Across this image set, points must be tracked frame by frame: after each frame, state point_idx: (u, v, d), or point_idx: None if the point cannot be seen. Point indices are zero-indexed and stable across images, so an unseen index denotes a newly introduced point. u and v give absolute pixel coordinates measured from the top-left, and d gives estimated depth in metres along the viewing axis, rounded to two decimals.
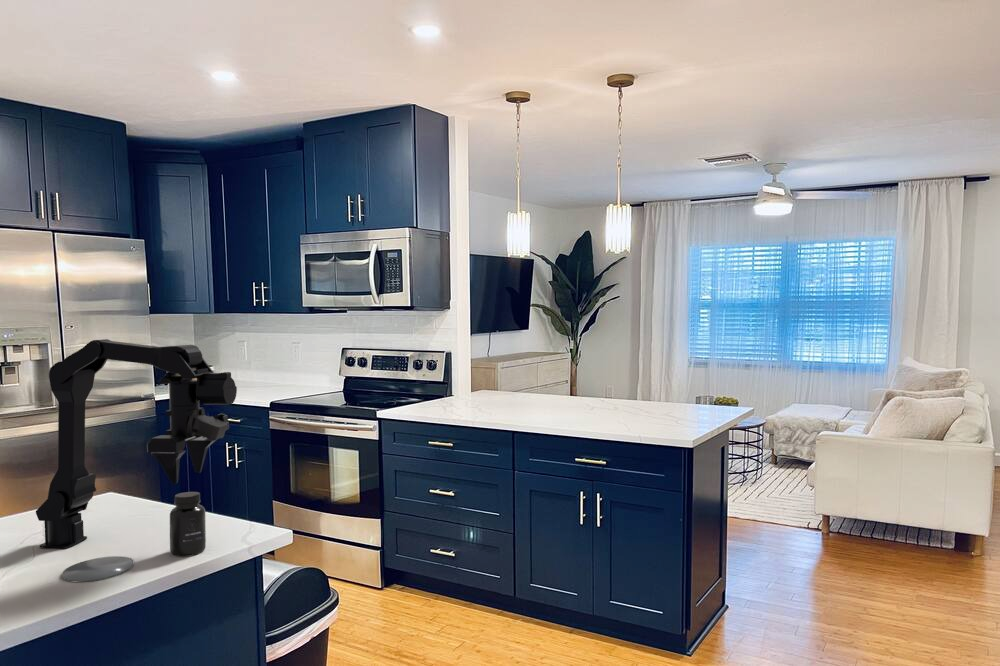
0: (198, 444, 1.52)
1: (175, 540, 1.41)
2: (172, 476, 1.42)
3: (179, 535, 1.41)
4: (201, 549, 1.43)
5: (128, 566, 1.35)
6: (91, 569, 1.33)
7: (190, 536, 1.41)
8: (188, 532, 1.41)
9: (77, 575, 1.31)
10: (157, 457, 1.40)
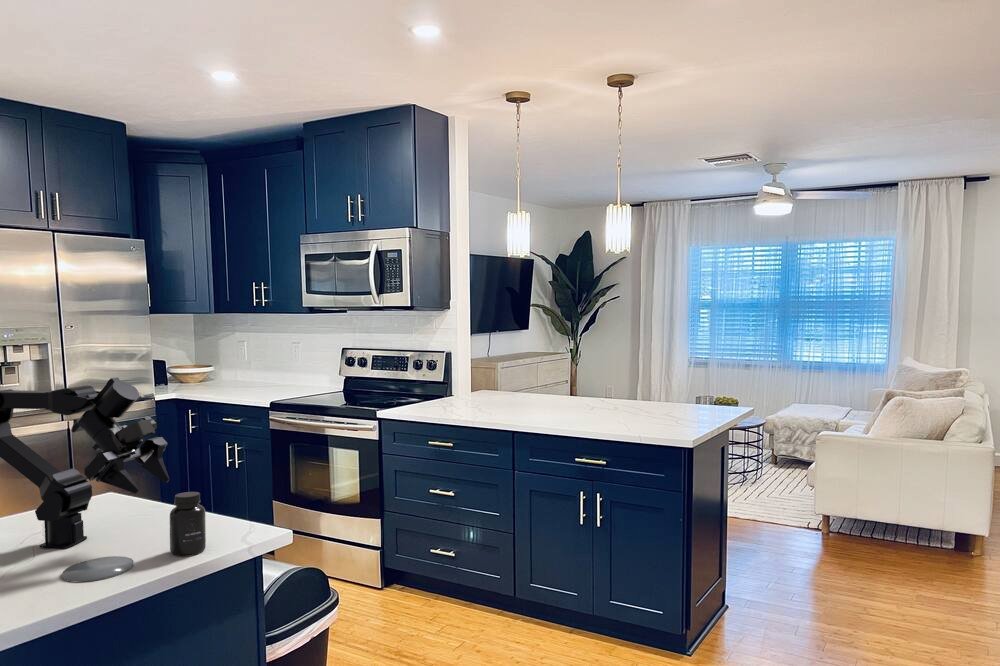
0: (151, 460, 1.51)
1: (175, 540, 1.41)
2: (130, 487, 1.41)
3: (179, 535, 1.41)
4: (201, 549, 1.43)
5: (128, 566, 1.35)
6: (91, 569, 1.33)
7: (190, 536, 1.41)
8: (188, 532, 1.41)
9: (77, 575, 1.31)
10: (105, 481, 1.40)
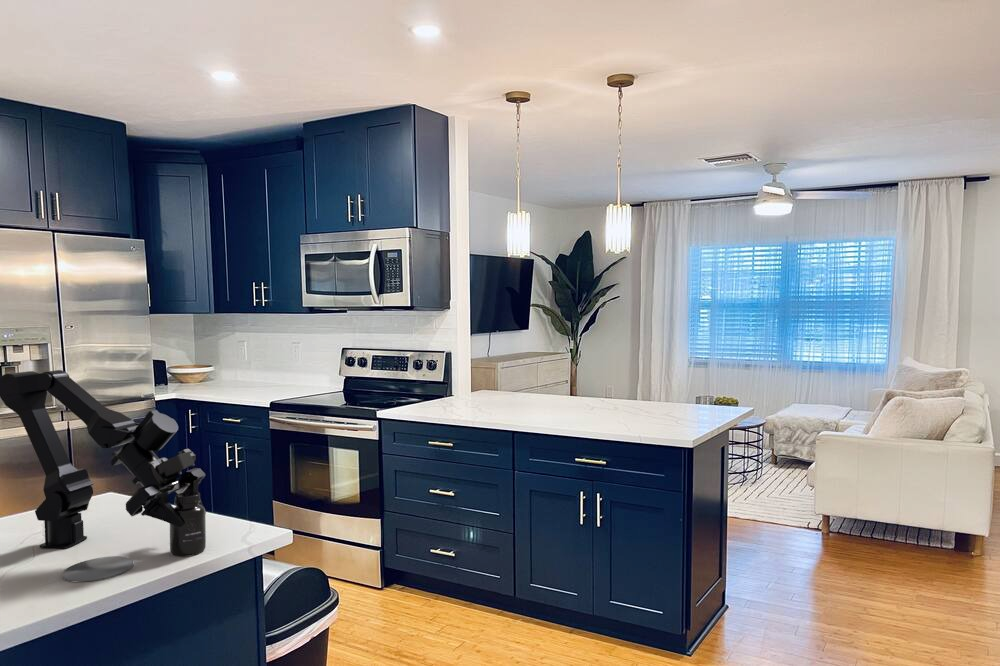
0: None
1: (175, 539, 1.41)
2: (175, 520, 1.40)
3: (179, 534, 1.41)
4: (201, 549, 1.43)
5: (128, 566, 1.35)
6: (91, 569, 1.33)
7: (190, 536, 1.41)
8: (188, 532, 1.41)
9: (77, 575, 1.31)
10: (150, 515, 1.39)
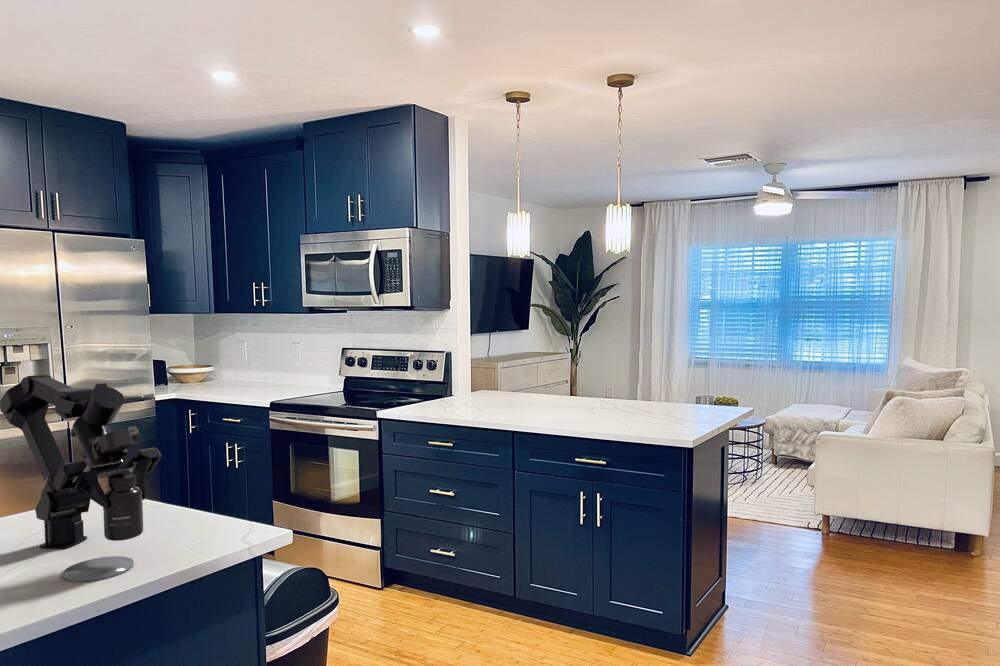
0: None
1: (104, 522, 1.34)
2: (100, 501, 1.32)
3: (107, 517, 1.33)
4: (131, 535, 1.34)
5: (128, 566, 1.35)
6: (91, 569, 1.33)
7: (116, 520, 1.33)
8: (115, 516, 1.33)
9: (77, 575, 1.31)
10: (81, 492, 1.34)
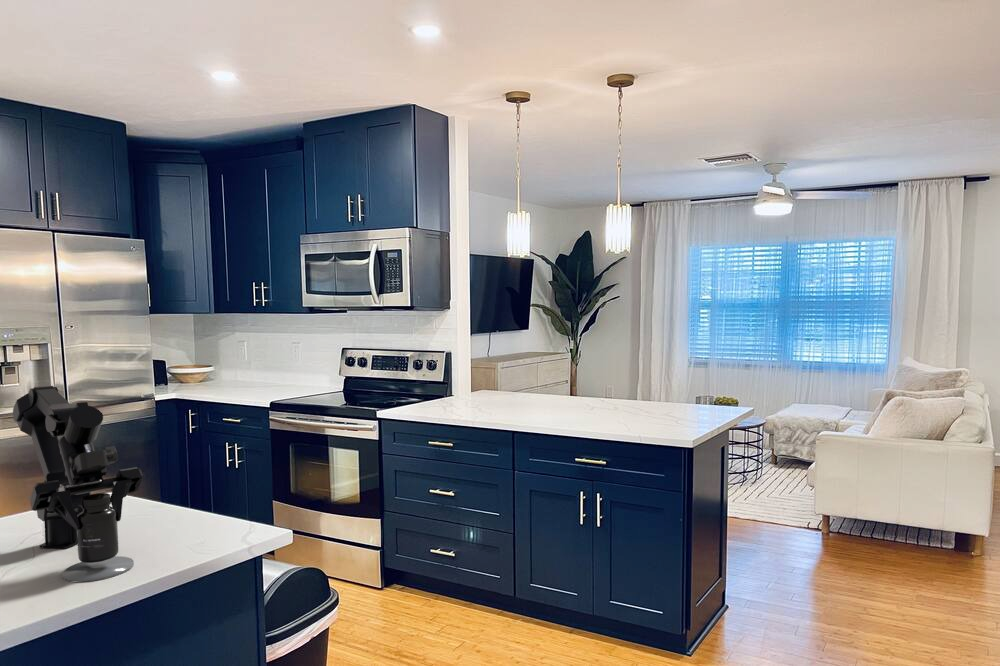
0: (113, 493, 1.39)
1: None
2: (72, 522, 1.31)
3: (78, 539, 1.32)
4: (102, 557, 1.32)
5: (128, 566, 1.35)
6: (91, 569, 1.33)
7: (87, 542, 1.31)
8: (85, 538, 1.31)
9: (77, 575, 1.31)
10: (57, 511, 1.33)
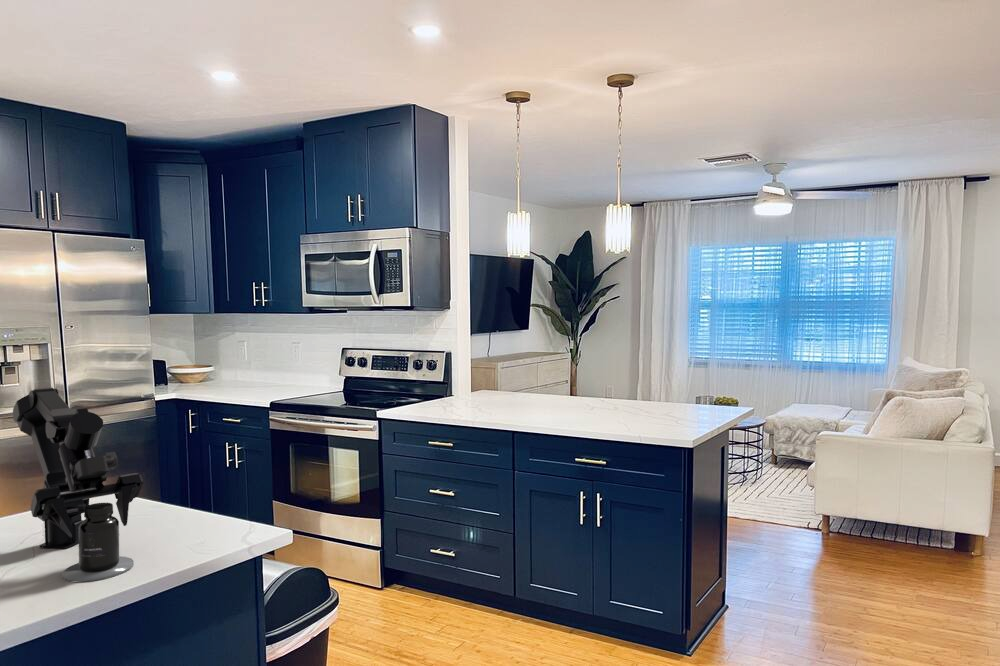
0: (119, 498, 1.40)
1: None
2: (66, 530, 1.30)
3: (80, 548, 1.32)
4: (103, 567, 1.32)
5: (128, 566, 1.35)
6: None
7: (88, 551, 1.31)
8: (87, 547, 1.31)
9: (77, 575, 1.31)
10: (51, 519, 1.32)
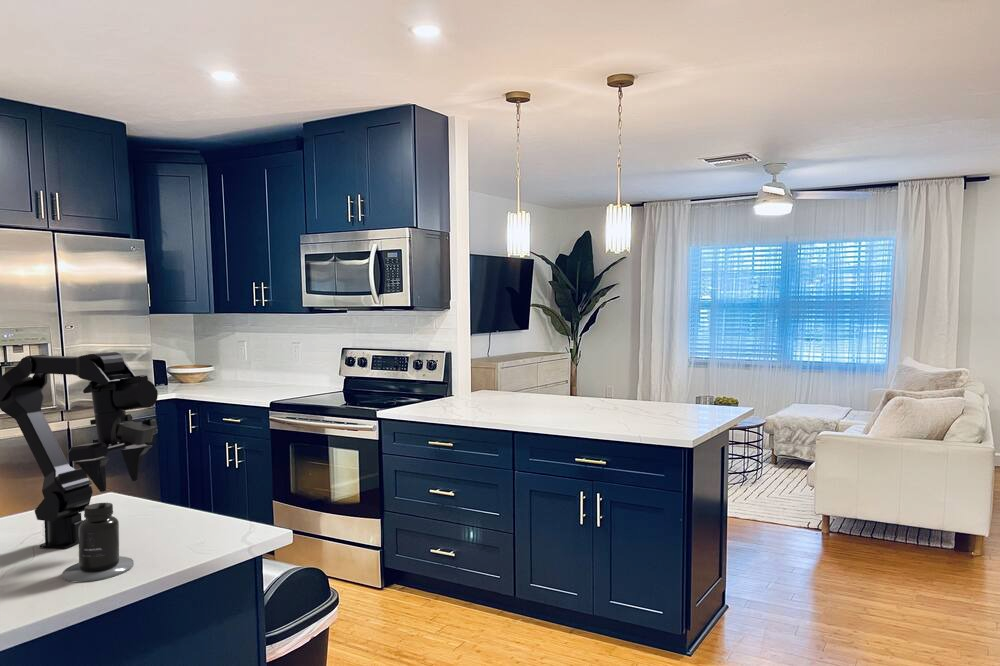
0: (132, 452, 1.50)
1: None
2: (99, 484, 1.40)
3: (80, 548, 1.32)
4: (103, 567, 1.32)
5: (128, 566, 1.35)
6: None
7: (88, 551, 1.31)
8: (87, 547, 1.31)
9: (77, 575, 1.31)
10: (82, 466, 1.39)
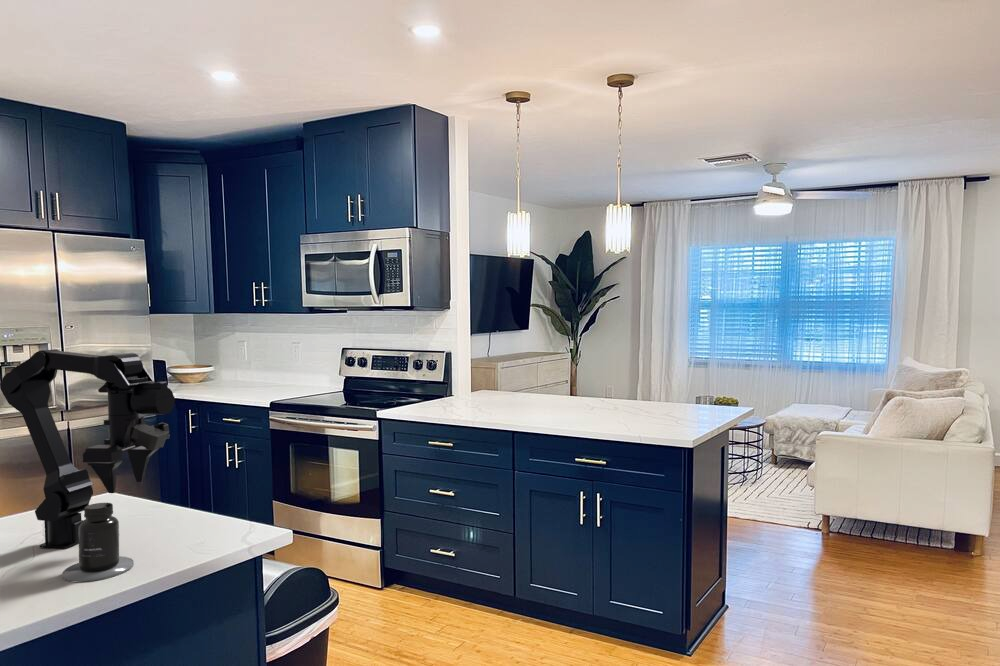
0: (139, 453, 1.51)
1: None
2: (109, 486, 1.41)
3: (80, 548, 1.32)
4: (103, 567, 1.32)
5: (128, 566, 1.35)
6: None
7: (88, 551, 1.31)
8: (87, 547, 1.31)
9: (77, 575, 1.31)
10: (93, 467, 1.40)
